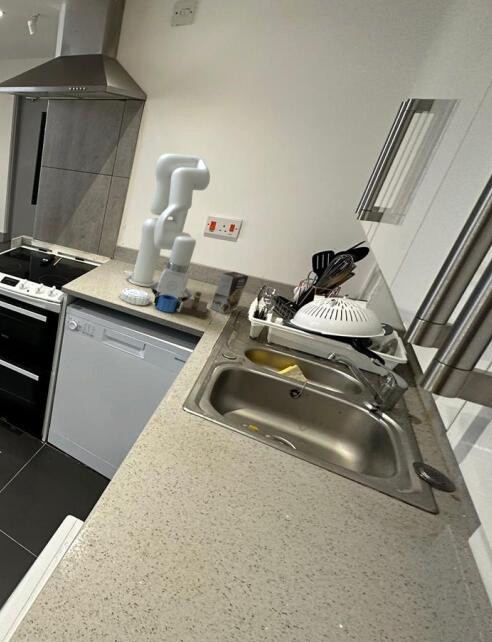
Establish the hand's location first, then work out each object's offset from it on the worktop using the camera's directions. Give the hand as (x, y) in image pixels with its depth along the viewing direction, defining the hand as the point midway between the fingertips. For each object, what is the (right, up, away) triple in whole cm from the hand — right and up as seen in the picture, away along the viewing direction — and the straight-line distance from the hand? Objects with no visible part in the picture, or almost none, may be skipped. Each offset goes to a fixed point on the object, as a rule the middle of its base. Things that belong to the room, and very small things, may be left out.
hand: (165, 307), depth 163 cm
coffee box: (+27, -1, +5) cm, 28 cm away
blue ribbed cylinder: (0, 0, 0) cm, 1 cm away
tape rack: (+12, -1, +1) cm, 12 cm away
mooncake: (-10, +3, +8) cm, 13 cm away
